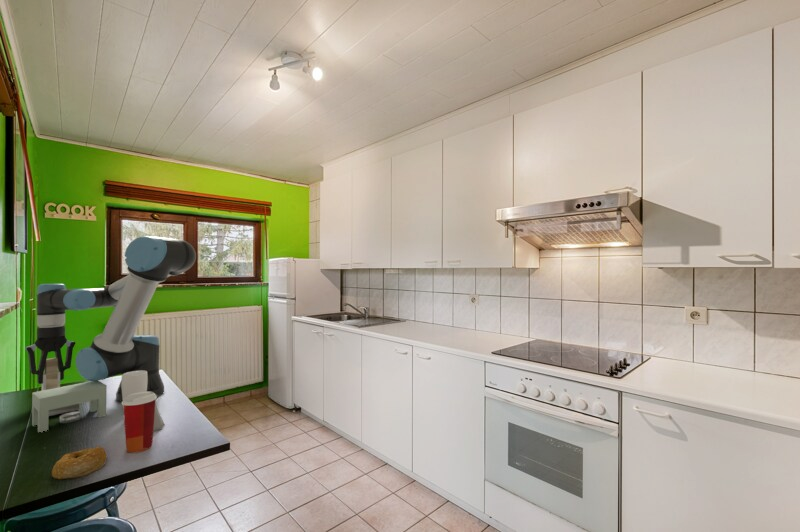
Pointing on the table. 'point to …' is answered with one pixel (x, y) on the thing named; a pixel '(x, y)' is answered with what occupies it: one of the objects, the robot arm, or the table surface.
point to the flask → (157, 419)
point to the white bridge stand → (67, 400)
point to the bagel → (79, 463)
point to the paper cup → (139, 420)
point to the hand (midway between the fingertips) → (50, 390)
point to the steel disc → (70, 417)
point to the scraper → (55, 384)
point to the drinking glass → (134, 383)
